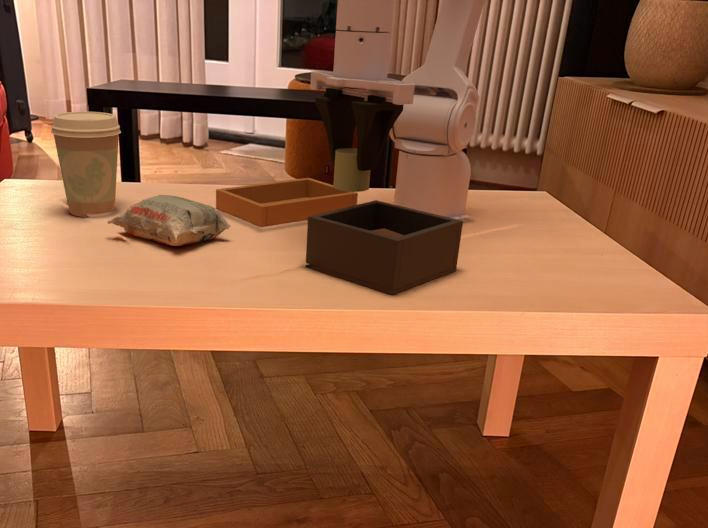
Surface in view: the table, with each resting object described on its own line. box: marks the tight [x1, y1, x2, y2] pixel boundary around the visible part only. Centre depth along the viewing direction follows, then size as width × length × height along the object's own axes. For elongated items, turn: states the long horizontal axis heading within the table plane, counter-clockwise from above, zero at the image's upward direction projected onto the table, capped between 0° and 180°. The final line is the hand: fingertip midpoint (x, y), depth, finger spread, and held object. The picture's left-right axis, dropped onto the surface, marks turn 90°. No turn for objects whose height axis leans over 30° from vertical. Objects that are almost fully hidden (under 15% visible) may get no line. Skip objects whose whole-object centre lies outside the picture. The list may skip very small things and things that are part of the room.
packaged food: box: [107, 194, 231, 247], centre depth 89 cm, size 9×12×5 cm
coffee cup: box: [50, 111, 122, 218], centre depth 98 cm, size 9×8×12 cm
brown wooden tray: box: [215, 177, 359, 228], centre depth 103 cm, size 16×11×3 cm
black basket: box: [305, 199, 464, 296], centre depth 82 cm, size 12×12×6 cm
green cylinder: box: [332, 147, 372, 193], centre depth 86 cm, size 4×4×4 cm
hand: (353, 165), depth 85 cm, fingers closed on green cylinder, 4 cm apart
